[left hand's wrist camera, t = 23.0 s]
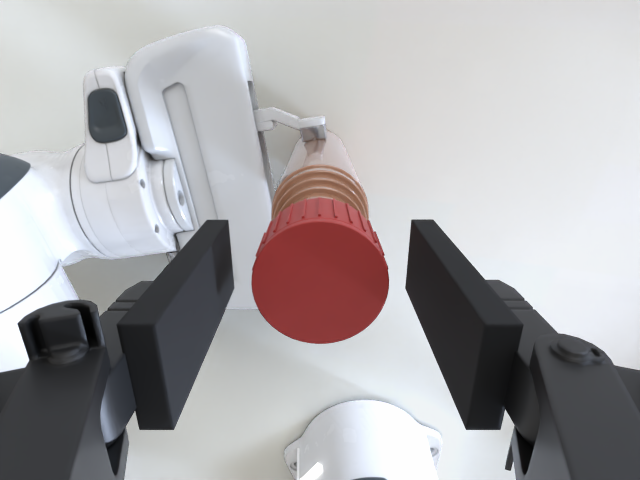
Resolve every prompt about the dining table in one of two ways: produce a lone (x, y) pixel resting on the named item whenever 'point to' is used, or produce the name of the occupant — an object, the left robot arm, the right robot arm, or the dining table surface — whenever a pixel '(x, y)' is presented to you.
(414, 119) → the dining table surface
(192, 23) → the dining table surface
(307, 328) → the cap
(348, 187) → the bottle
